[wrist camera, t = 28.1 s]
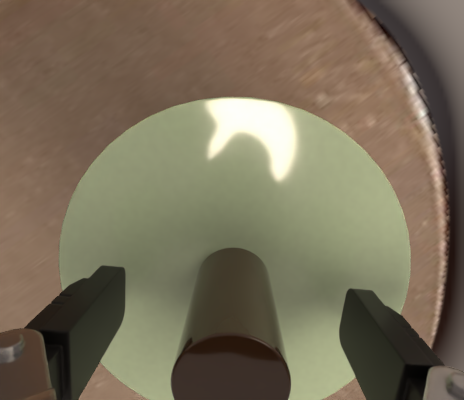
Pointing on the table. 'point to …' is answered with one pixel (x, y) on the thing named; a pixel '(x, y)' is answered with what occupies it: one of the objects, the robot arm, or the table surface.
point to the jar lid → (235, 248)
